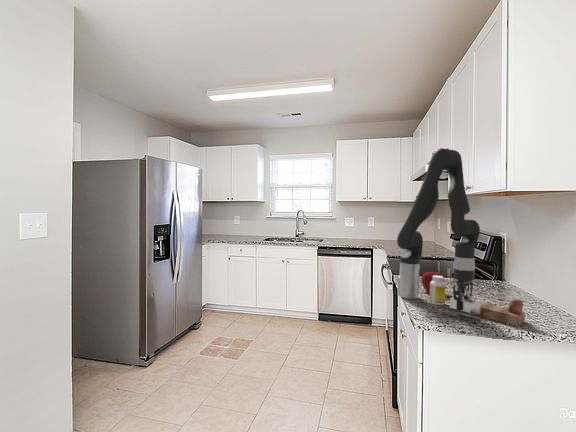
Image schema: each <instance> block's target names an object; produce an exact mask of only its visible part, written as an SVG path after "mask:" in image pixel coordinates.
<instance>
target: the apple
mask: <svg viewBox="0 0 576 432" xmlns="http://www.w3.org/2000/svg"><path fill="white" fill-rule="evenodd" d="M434 275H437V276H442V277H444V275H443V274H442V273H440V272H437V271H436V272H435V271H426V272H424V273H423V274H422V275H421V277H420V279H421V284H422V287H423V289H424V290H425V291H426V292H427V293H428V294H430V282H431V281H433V278H432V277H433V276H434ZM444 281H445V279H443V282H444ZM444 283H445V282H444Z"/></svg>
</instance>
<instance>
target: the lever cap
mask: <svg viewBox="0 0 576 432" xmlns="http://www.w3.org/2000/svg"><path fill="white" fill-rule="evenodd" d="M470 299H471V298H470ZM470 299H466V298H463V310H462V311H465V312H469V313H473V314H480V313H481V302H482V301H480V302H479V300H476V301H475V299H471V300H470ZM456 305H457V300H454V296H452V297H450V298H449V308H450V309H452V310H453V309H454V310H455V309H456Z"/></svg>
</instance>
